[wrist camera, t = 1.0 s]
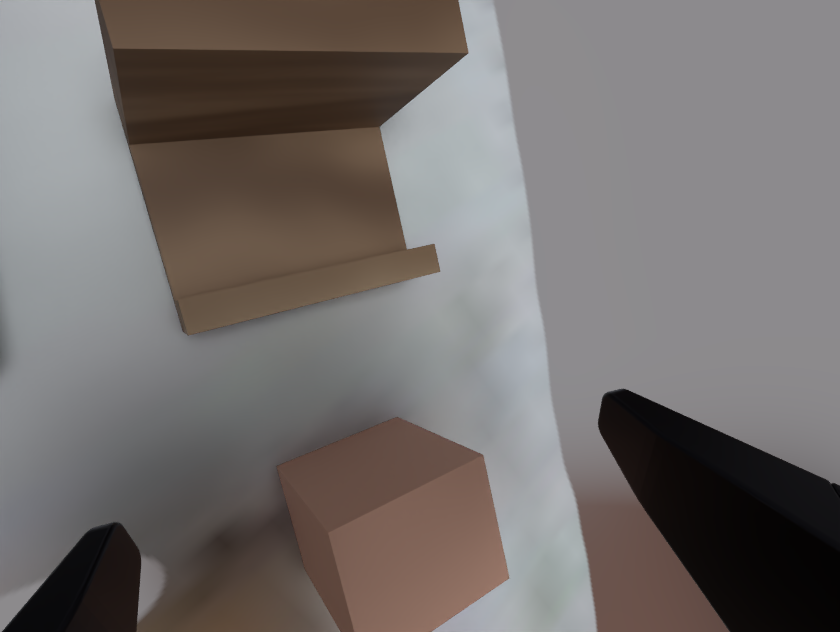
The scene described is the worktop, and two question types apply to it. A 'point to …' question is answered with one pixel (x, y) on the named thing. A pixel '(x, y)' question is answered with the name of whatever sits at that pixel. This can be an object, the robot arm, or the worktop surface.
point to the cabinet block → (395, 527)
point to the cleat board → (272, 142)
